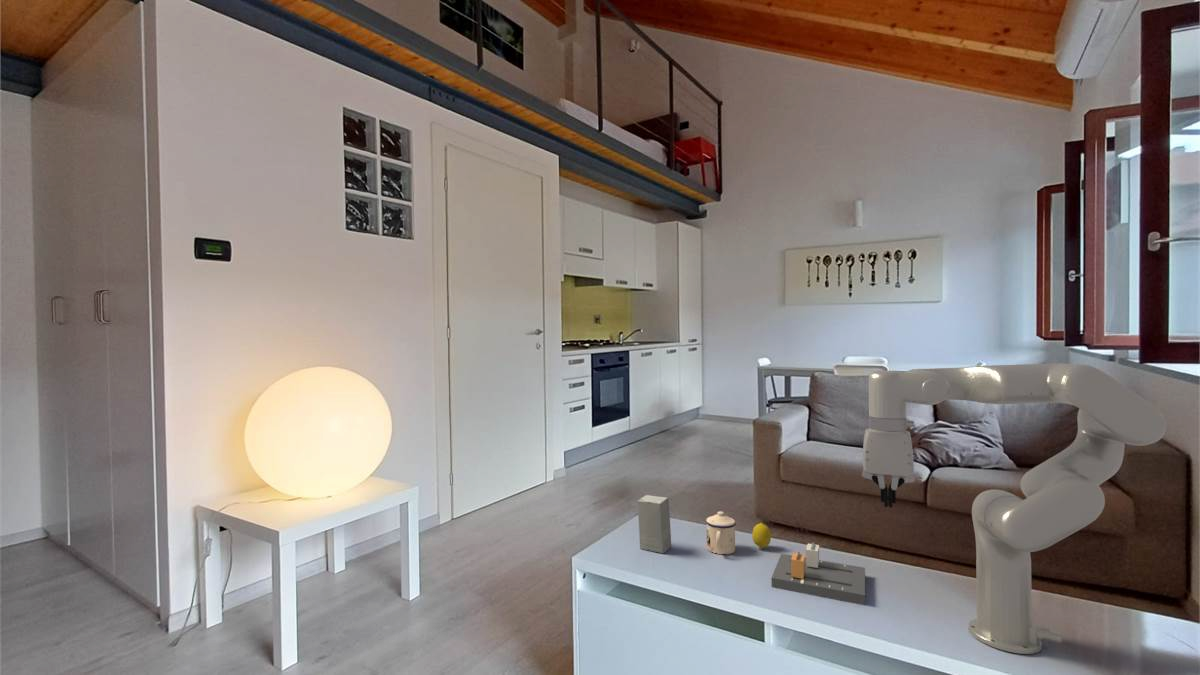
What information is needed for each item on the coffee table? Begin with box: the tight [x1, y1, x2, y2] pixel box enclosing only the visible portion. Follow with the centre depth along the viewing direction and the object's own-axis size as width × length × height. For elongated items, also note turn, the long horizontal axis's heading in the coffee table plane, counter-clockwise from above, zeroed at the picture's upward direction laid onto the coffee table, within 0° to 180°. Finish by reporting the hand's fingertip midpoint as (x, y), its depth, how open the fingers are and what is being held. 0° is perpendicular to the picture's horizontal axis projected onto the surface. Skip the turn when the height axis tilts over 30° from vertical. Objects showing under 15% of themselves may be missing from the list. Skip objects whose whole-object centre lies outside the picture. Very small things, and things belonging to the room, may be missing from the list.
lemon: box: [752, 522, 772, 549], centre depth 166 cm, size 6×6×8 cm
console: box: [770, 553, 866, 606], centre depth 143 cm, size 22×18×2 cm
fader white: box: [805, 542, 820, 568], centre depth 148 cm, size 3×5×5 cm, turn 153°
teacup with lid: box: [705, 510, 737, 555], centre depth 164 cm, size 12×9×12 cm
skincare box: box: [637, 494, 672, 554], centre depth 166 cm, size 8×7×16 cm
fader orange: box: [791, 551, 806, 579], centre depth 141 cm, size 3×5×5 cm, turn 153°
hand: (888, 505), depth 121 cm, fingers closed
